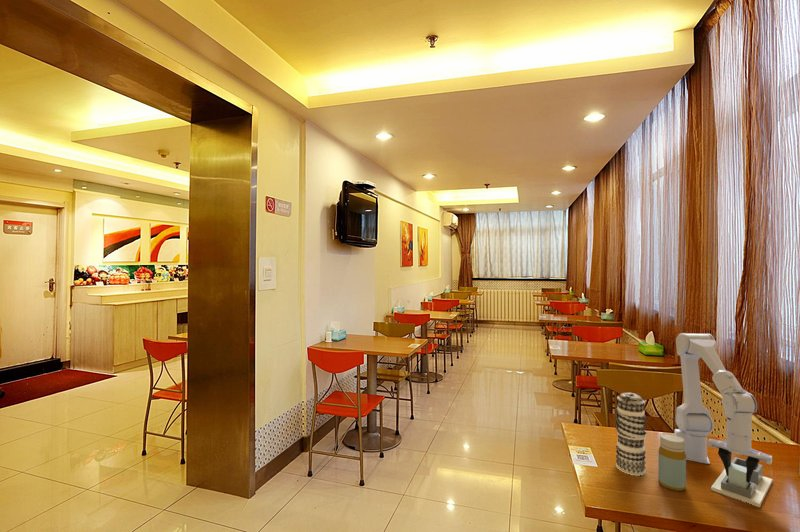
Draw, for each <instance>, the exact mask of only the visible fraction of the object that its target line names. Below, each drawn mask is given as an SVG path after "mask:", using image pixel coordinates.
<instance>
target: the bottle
mask: <svg viewBox="0 0 800 532" xmlns="http://www.w3.org/2000/svg"><path fill="white" fill-rule="evenodd" d="M659 437H660V438H659V443H660V444H659V447H658V460H657V461H658V468H657V469H658V472H657V475H658V482H659V484H660V485H661V486H662V487H664V488H665V487H666V489H667V488H668V489H667V490H670V491H673V490H675V491H674V492H682V491H684V490H685V489H686V488H687V460H686V454H685V452H684V439H683V438H682V437H680V436H677V435H674V433H666V432H665V433H661V434H660V435H659Z"/></svg>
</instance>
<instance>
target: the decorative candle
mask: <svg viewBox="0 0 800 532" xmlns="http://www.w3.org/2000/svg"><path fill="white" fill-rule="evenodd" d="M616 398H617V408H615V411H614V413H615V418H614V420H615V424H616V428H615V431H616V434H617V441H616V443H617V444H616V445H615V448H616V450H615V452H616V455H615V458H616V459H615V462H616V463H615V464H616V465H615V466H616V467H615V468H616V469H619V470H618V471H620V470H621V471H622V473H623V472H625V473H624V474H626V473H627V474H626V475H628V474H630V476H633V475H635V476H634V477H641V476H644V475H645V474H646V470H645V469H646V465H645V464H646V463H647V462H646V460H645V459H646V455H645V454H646V453H647V452H646V450H645V444H644V443H645V439H646V434H647V432H646V430H647V427H646V426H645V425H646V424H647V423H648V422H647V421H646V420H647V418H648V417H647V415H646V414H645V403H646V401H645V400H644V399H643V398H642V396H641V395H639V394H637V393H633V392H621V393H620V394H619V395H617V397H616ZM621 471H620V472H621ZM640 475H641V476H640Z"/></svg>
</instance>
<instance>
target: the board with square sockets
mask: <svg viewBox="0 0 800 532" xmlns="http://www.w3.org/2000/svg"><path fill="white" fill-rule="evenodd" d="M732 463H733V464H737V465H740V466H743V467H746V459H743V458H741V457H740V458H739V457H737V456H734V458H733V459H731V464H732ZM763 470H764V467H763V464H760V463H758V464H757V466H756V467H755V469H754V471H753V473H752V476H751V481H750V483H749V489H748V490H747V489H744V488H741V487H738V486H735V485H732V484H729V476H727V474H726V470H725V468H724V469H723V470H722V472H721V473H720V475H719V476H718V477H717V478H716V480H715V481H714V482H713V484H712V485H711V486H710V489H711V491H713V492H716V493H718V494H721V495H724V496H727V497H729V498H733V499H734V498H735V500H737V499H738V500H737V501H740V500H741V501H740V502H743V503H746V502H747V503H746V504H748V503H749V505H751V504H752V505H751V506H755V507H757V508H761V506H762V503H763V502H764V500H765V498H766V496H767V493H768V492H769V490H770V488H771V486H772V484H773V478H770V477H767V476H764V475H763V474H764V473H763Z"/></svg>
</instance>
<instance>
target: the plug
mask: <svg viewBox="0 0 800 532" xmlns="http://www.w3.org/2000/svg"><path fill="white" fill-rule="evenodd" d="M746 474H747V468H746V467H743V466H740V465H737V464H733V463H732V464H731V465H730V466H729V484H732V485H735V486H738V487H741V488H744V489H747V490H748V489H749V483H748V482H746Z"/></svg>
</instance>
